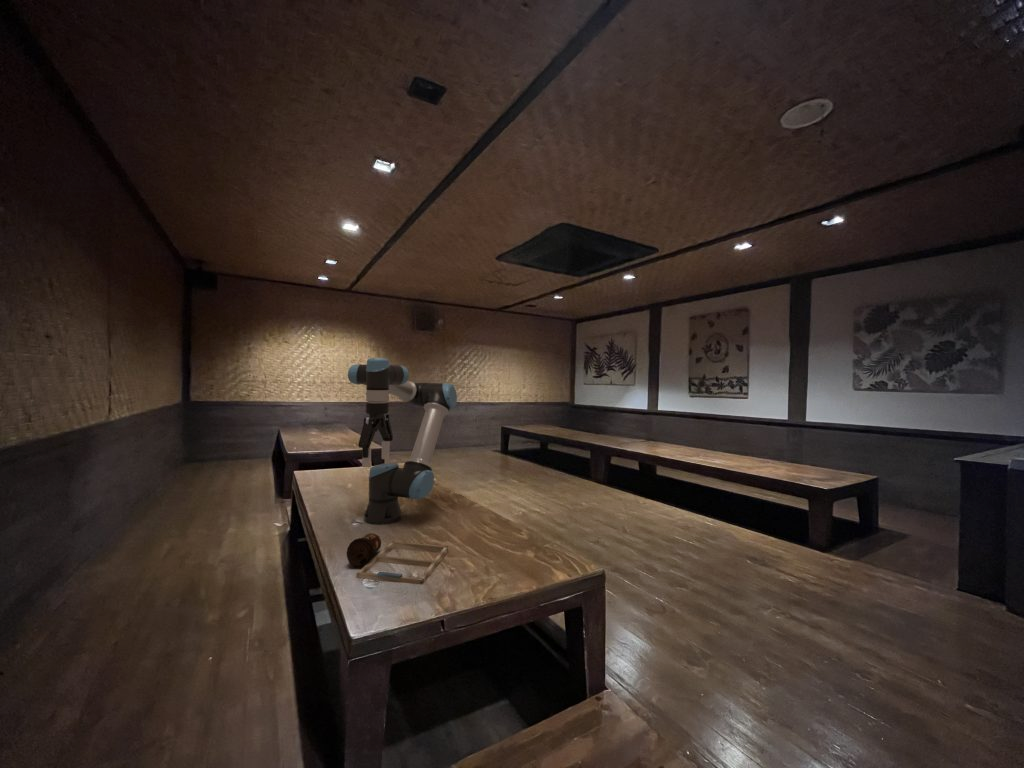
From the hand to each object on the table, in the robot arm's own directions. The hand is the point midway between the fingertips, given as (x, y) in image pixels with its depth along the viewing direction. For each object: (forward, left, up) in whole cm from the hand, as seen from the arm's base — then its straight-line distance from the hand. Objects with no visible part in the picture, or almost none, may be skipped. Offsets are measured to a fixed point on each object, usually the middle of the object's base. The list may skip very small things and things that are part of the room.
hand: (376, 462), depth 138 cm
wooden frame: (+13, +17, -29) cm, 36 cm away
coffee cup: (+6, +2, -26) cm, 26 cm away
